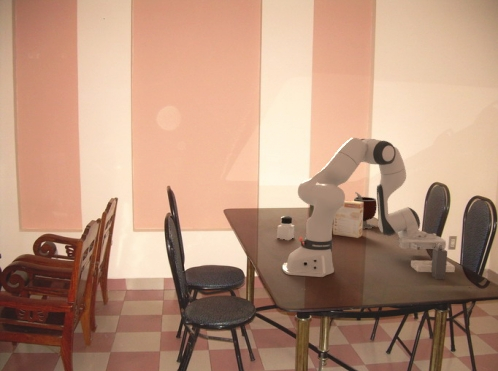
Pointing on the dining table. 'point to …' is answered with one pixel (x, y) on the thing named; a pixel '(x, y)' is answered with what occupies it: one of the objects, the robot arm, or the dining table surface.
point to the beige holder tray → (429, 266)
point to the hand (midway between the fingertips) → (428, 248)
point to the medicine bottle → (285, 228)
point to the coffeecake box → (349, 219)
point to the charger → (439, 263)
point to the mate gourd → (367, 209)
